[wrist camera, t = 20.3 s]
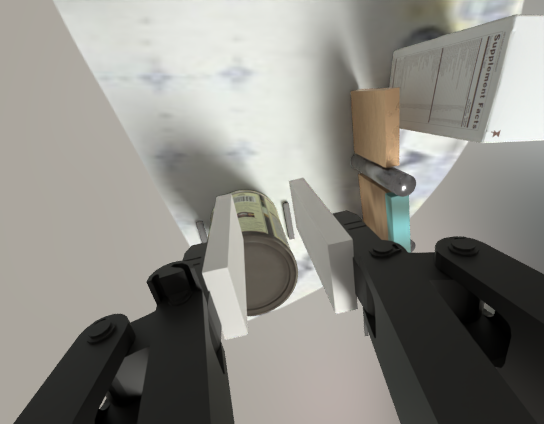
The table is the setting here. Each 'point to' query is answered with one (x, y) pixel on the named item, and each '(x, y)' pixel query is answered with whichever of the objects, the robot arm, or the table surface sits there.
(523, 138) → the supplement box
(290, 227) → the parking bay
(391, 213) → the gate
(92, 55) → the table surface
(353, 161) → the gate posts
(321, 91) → the table surface
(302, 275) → the table surface
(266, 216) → the coffee can
